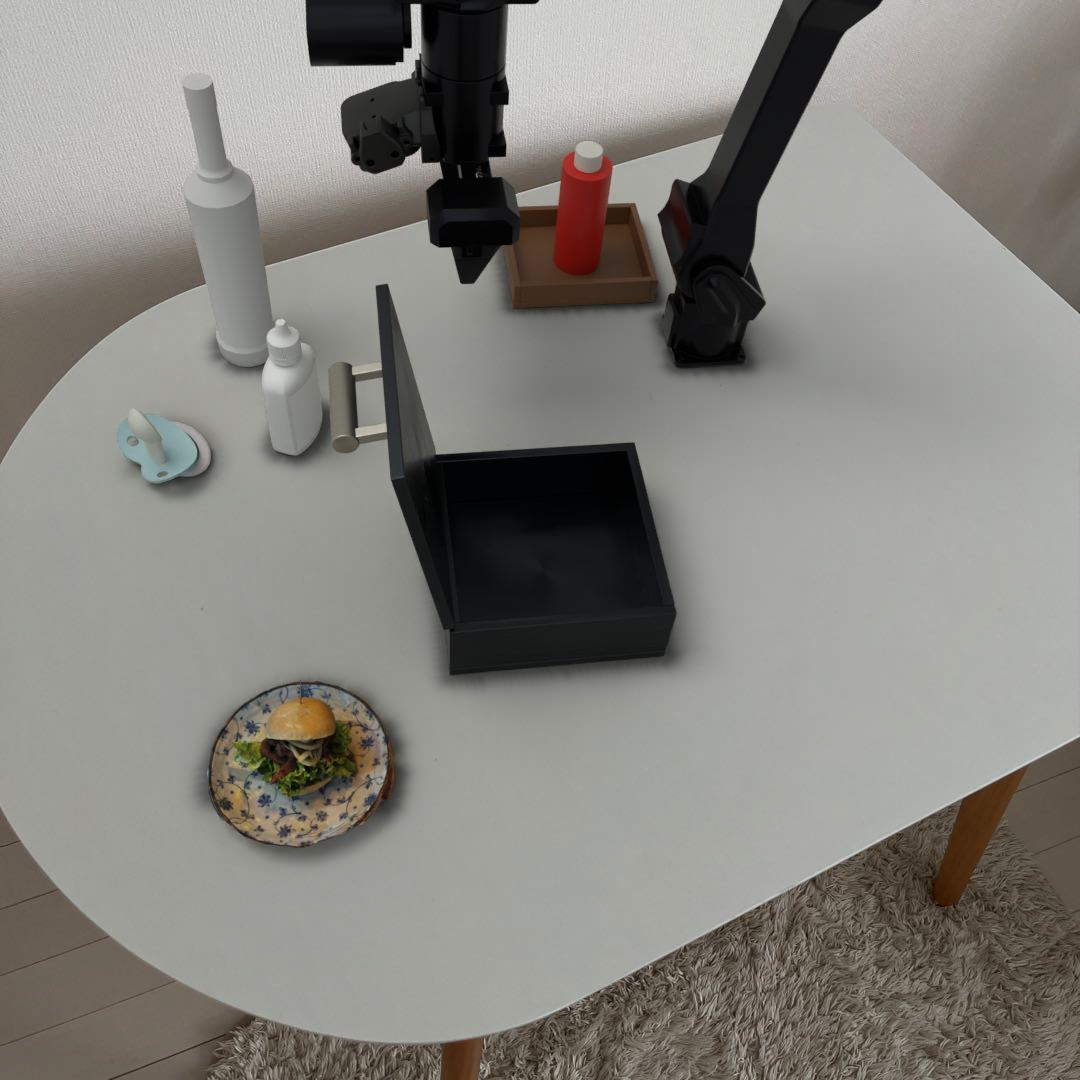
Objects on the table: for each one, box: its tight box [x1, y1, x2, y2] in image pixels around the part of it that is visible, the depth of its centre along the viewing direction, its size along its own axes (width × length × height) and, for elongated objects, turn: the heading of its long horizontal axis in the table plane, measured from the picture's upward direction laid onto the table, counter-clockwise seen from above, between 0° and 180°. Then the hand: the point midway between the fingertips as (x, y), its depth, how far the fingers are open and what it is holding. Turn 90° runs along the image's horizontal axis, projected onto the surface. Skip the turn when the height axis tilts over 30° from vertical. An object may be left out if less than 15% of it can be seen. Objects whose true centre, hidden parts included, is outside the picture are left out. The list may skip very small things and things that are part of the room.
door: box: [327, 283, 455, 631], centre depth 71 cm, size 16×16×4 cm
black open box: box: [436, 441, 678, 676], centre depth 82 cm, size 16×16×6 cm
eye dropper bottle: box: [261, 318, 323, 456], centre depth 86 cm, size 4×6×12 cm
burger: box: [206, 679, 395, 849], centre depth 71 cm, size 12×12×8 cm
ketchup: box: [553, 140, 614, 275], centre depth 100 cm, size 4×4×12 cm
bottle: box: [181, 72, 276, 368], centre depth 86 cm, size 5×5×25 cm
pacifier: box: [115, 407, 212, 484], centre depth 86 cm, size 7×6×6 cm
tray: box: [501, 202, 659, 309], centre depth 104 cm, size 13×11×3 cm
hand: (461, 243), depth 88 cm, fingers open, 9 cm apart
